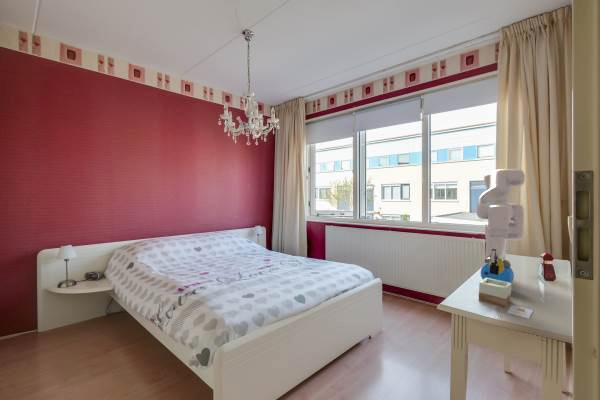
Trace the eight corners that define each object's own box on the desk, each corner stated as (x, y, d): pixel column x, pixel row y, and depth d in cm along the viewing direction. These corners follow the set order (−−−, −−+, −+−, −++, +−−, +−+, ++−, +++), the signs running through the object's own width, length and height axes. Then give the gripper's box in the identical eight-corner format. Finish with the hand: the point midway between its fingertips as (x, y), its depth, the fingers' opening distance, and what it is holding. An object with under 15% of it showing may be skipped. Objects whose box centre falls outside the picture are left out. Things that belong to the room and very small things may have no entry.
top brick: (485, 286, 133) (485, 277, 133) (511, 292, 126) (511, 283, 126) (478, 292, 127) (479, 282, 126) (505, 298, 119) (506, 288, 119)
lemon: (505, 277, 122) (506, 259, 122) (490, 275, 124) (491, 258, 124) (501, 273, 127) (502, 256, 127) (487, 272, 129) (487, 255, 129)
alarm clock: (513, 289, 140) (515, 260, 139) (509, 292, 137) (511, 262, 136) (484, 282, 151) (485, 255, 150) (479, 284, 147) (480, 256, 146)
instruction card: (512, 305, 122) (512, 305, 122) (532, 311, 117) (532, 310, 117) (506, 312, 115) (506, 312, 115) (528, 318, 110) (528, 318, 110)
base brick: (484, 294, 134) (485, 286, 133) (510, 301, 126) (511, 292, 126) (478, 300, 127) (478, 292, 127) (505, 308, 119) (505, 298, 119)
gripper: (492, 229, 133) (491, 267, 134) (482, 233, 122) (480, 274, 123) (512, 231, 128) (510, 270, 129) (503, 236, 116) (501, 278, 117)
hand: (495, 272), depth 126 cm, fingers closed on lemon, 5 cm apart
